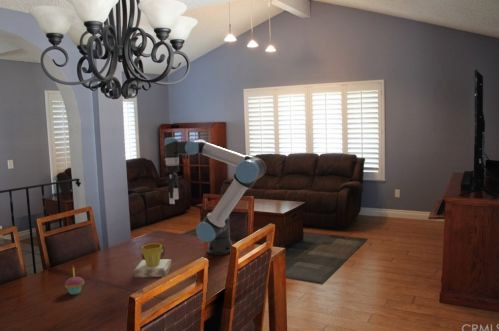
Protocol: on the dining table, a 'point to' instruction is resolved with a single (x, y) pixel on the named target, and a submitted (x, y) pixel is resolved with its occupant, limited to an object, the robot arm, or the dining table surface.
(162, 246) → the tin
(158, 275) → the plinth
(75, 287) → the cupcake
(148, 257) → the plant pot
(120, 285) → the dining table surface
